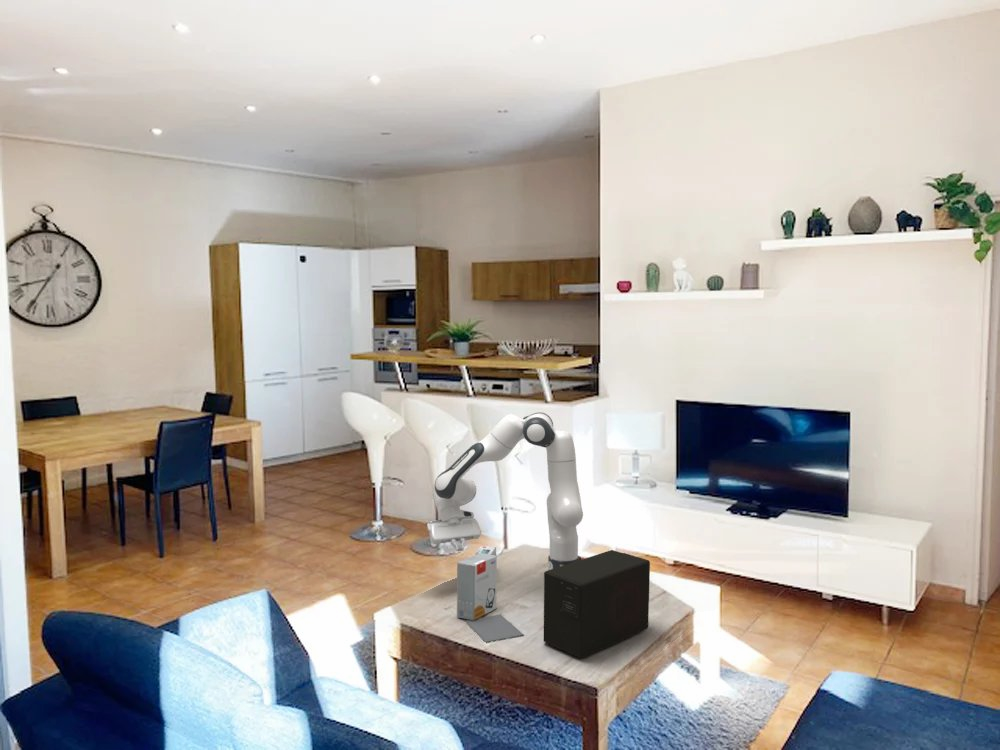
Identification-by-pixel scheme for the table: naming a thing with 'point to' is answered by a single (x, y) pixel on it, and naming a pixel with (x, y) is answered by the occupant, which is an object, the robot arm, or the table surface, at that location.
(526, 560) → the table surface
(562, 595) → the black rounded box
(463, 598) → the hard drive box
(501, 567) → the table surface
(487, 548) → the light bulb box
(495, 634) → the mat
